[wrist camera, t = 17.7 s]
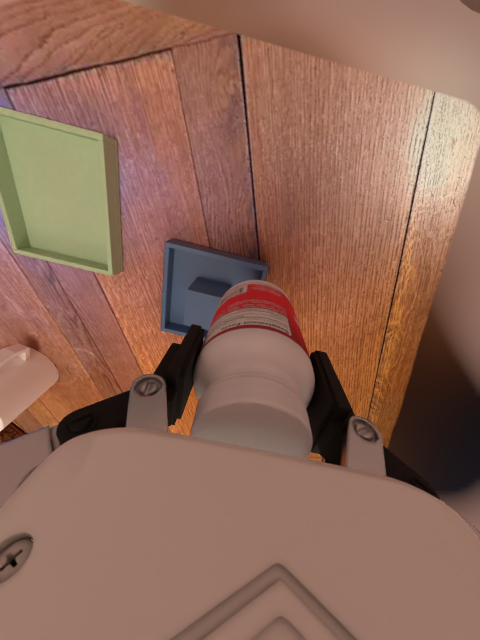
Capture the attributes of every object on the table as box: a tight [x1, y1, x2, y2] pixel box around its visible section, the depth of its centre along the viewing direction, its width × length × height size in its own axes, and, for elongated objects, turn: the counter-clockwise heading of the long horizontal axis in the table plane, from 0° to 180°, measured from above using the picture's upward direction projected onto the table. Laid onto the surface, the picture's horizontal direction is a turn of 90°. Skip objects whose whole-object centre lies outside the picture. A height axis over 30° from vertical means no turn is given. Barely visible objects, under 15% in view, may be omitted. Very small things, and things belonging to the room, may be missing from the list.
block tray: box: [161, 239, 269, 340], centre depth 31 cm, size 13×13×3 cm
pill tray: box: [0, 107, 123, 276], centre depth 26 cm, size 15×13×3 cm
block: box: [183, 277, 232, 330], centre depth 29 cm, size 5×5×5 cm
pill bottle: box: [191, 280, 315, 459], centre depth 13 cm, size 6×6×11 cm
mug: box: [0, 343, 59, 431], centre depth 37 cm, size 14×10×11 cm
